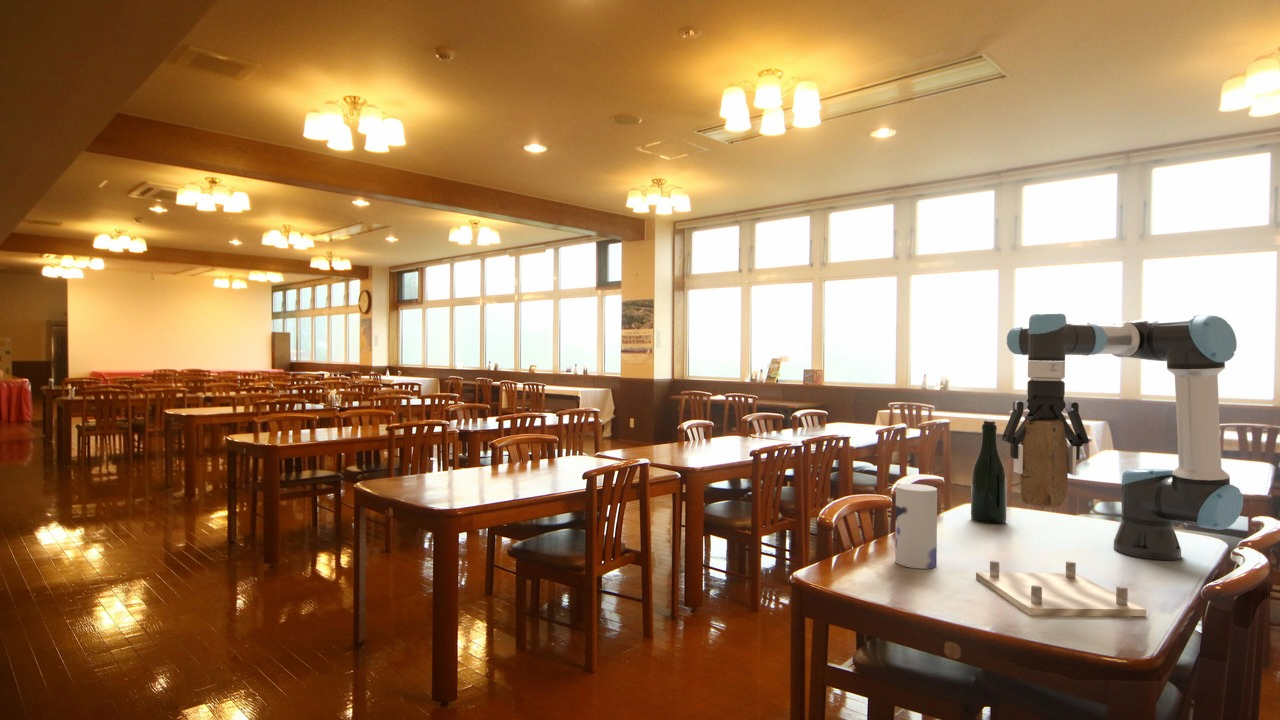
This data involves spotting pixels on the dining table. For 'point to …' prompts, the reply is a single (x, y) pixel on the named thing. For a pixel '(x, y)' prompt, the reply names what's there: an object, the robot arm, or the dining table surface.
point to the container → (916, 526)
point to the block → (1044, 463)
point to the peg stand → (1059, 593)
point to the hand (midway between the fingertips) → (1044, 473)
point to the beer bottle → (988, 480)
